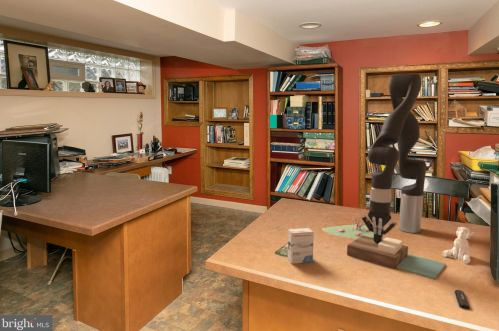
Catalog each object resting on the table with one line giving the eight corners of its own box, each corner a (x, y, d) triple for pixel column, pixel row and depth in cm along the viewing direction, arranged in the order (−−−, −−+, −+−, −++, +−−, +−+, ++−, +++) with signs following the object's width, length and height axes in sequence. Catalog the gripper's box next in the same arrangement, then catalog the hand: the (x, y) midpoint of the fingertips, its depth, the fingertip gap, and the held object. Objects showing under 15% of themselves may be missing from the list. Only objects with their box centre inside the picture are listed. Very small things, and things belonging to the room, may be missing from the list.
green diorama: (328, 241, 149) (329, 221, 147) (318, 225, 169) (319, 207, 168) (386, 241, 149) (387, 220, 147) (369, 225, 169) (370, 207, 168)
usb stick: (469, 311, 96) (470, 306, 96) (459, 309, 97) (459, 304, 97) (463, 294, 105) (464, 290, 105) (453, 293, 106) (454, 288, 106)
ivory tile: (385, 243, 134) (386, 237, 134) (402, 247, 130) (402, 240, 130) (377, 250, 127) (378, 244, 127) (394, 254, 123) (394, 248, 123)
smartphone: (273, 252, 135) (292, 240, 147) (273, 255, 135) (291, 242, 147) (290, 257, 130) (307, 243, 142) (290, 259, 130) (307, 246, 142)
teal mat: (408, 255, 132) (408, 254, 132) (445, 265, 124) (445, 263, 124) (396, 268, 122) (396, 266, 122) (435, 279, 114) (435, 277, 113)
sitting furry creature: (440, 256, 132) (443, 226, 130) (451, 250, 137) (453, 221, 135) (467, 264, 124) (471, 233, 122) (477, 258, 129) (481, 228, 127)
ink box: (308, 256, 132) (309, 227, 130) (313, 262, 127) (314, 231, 125) (287, 258, 130) (287, 228, 128) (290, 263, 125) (291, 233, 124)
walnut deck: (362, 244, 143) (362, 235, 143) (407, 256, 132) (408, 246, 131) (346, 254, 133) (347, 245, 132) (394, 268, 121) (395, 258, 121)
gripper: (402, 200, 127) (398, 244, 130) (367, 194, 136) (365, 236, 139) (394, 204, 122) (391, 250, 124) (359, 198, 130) (357, 241, 133)
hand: (377, 243), depth 131 cm, fingers closed
